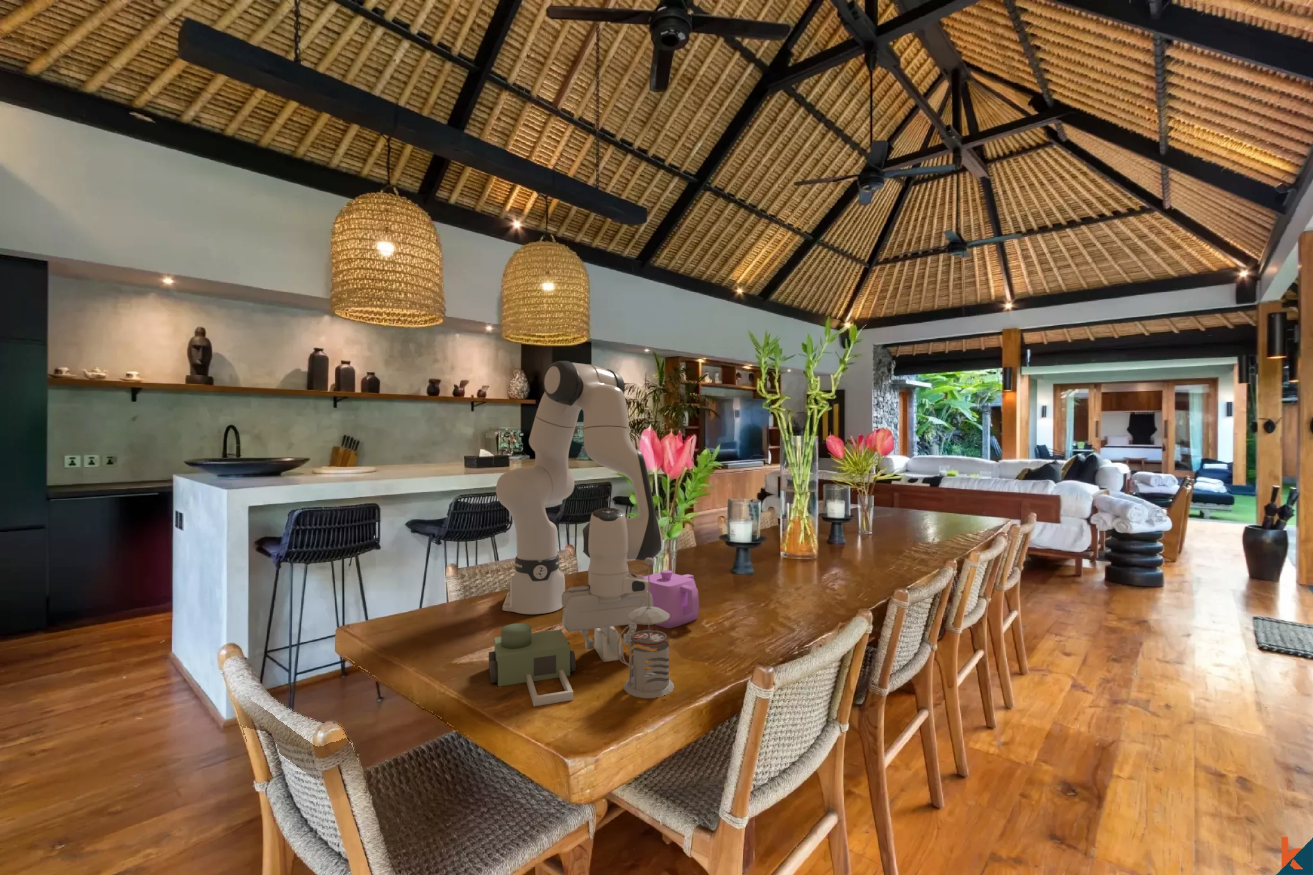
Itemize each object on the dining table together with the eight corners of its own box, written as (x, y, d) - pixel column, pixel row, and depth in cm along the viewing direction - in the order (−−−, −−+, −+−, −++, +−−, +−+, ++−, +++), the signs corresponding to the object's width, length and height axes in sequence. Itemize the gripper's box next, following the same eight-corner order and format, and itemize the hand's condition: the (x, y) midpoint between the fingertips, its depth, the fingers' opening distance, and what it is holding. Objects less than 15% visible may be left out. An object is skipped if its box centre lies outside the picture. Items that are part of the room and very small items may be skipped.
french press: (684, 688, 109) (684, 559, 109) (633, 706, 103) (633, 567, 102) (655, 670, 117) (655, 549, 117) (606, 685, 111) (605, 557, 110)
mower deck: (488, 666, 119) (488, 623, 119) (566, 655, 125) (566, 615, 125) (495, 712, 100) (495, 661, 100) (587, 697, 106) (587, 649, 106)
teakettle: (701, 629, 141) (701, 579, 141) (632, 629, 141) (632, 579, 141) (696, 607, 158) (696, 563, 158) (634, 607, 158) (635, 563, 158)
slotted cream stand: (594, 648, 129) (594, 626, 129) (611, 645, 131) (611, 624, 130) (603, 661, 122) (603, 638, 122) (621, 659, 123) (621, 636, 123)
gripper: (564, 591, 119) (564, 657, 120) (656, 582, 126) (656, 644, 127) (558, 584, 125) (559, 646, 126) (646, 575, 132) (647, 634, 133)
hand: (608, 645), depth 126 cm, fingers open, 7 cm apart
